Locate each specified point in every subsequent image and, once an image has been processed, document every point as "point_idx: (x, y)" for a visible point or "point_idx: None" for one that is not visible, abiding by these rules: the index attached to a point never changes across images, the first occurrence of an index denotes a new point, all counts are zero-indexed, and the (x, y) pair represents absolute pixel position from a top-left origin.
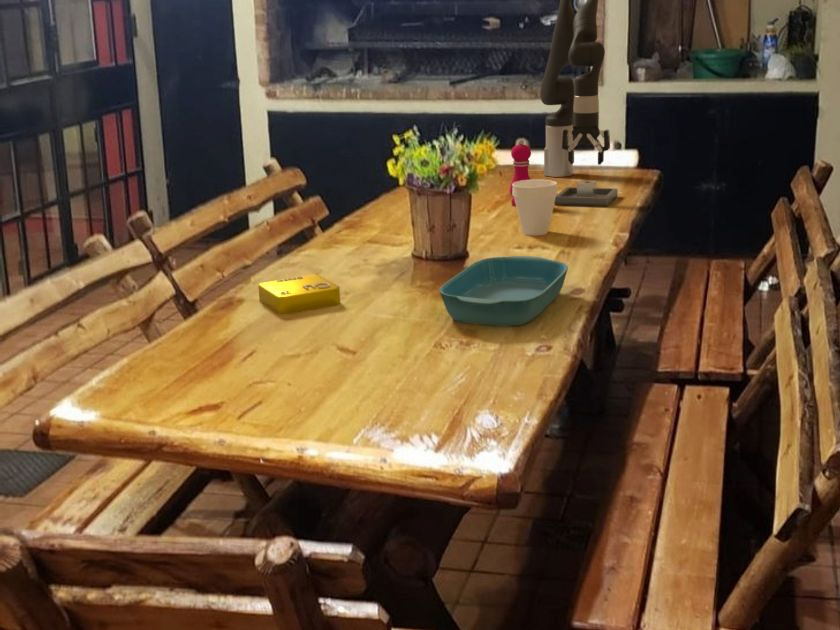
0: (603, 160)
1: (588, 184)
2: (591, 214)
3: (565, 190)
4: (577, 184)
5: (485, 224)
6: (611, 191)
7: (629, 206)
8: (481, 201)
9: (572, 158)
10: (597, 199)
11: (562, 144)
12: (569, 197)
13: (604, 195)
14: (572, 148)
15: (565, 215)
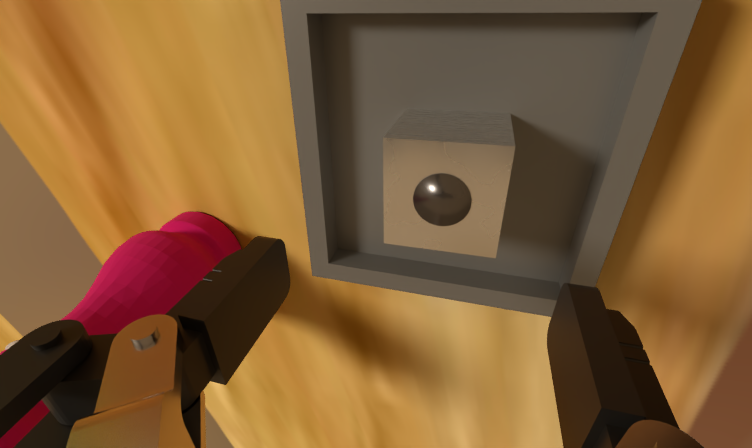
0: (632, 331)
1: (463, 249)
2: (505, 398)
3: (308, 112)
4: (390, 240)
5: (245, 443)
6: (632, 117)
7: (712, 284)
8: (57, 194)
9: (264, 322)
10: (527, 308)
11: (40, 443)
12: (381, 286)
13: (569, 59)
14: (199, 431)
15: (413, 398)
